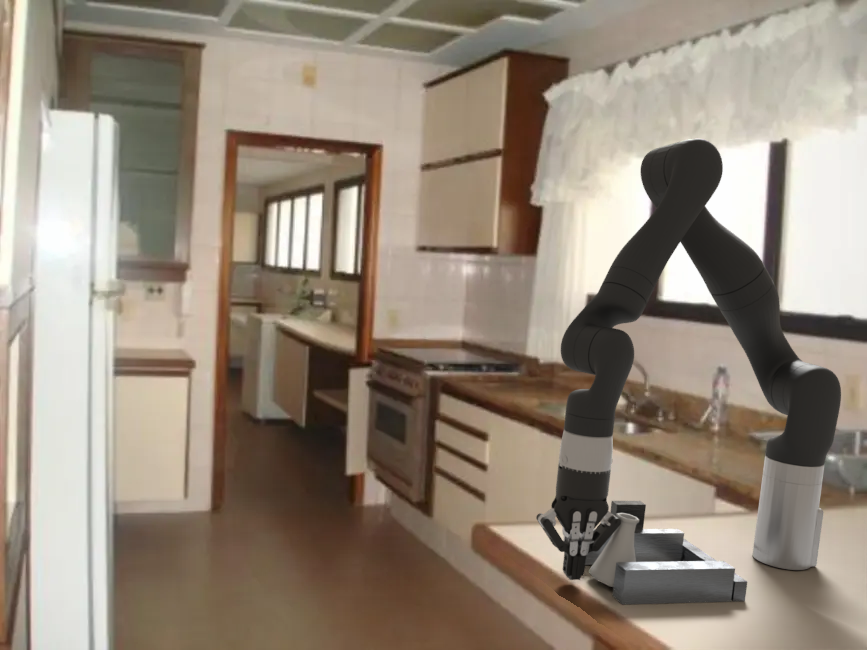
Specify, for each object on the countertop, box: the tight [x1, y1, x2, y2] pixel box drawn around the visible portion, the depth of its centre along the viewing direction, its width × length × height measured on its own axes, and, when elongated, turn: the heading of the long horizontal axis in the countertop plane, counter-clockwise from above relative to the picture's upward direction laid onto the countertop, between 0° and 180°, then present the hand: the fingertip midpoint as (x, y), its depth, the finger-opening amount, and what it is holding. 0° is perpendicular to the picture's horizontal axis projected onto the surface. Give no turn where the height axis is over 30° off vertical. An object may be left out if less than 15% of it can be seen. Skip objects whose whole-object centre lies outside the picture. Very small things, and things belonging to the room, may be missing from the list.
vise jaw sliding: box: [585, 500, 685, 566], centre depth 151 cm, size 17×4×9 cm, turn 105°
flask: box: [588, 513, 639, 588], centre depth 141 cm, size 7×7×10 cm
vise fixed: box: [612, 538, 748, 605], centre depth 145 cm, size 20×19×5 cm
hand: (572, 577), depth 140 cm, fingers closed
